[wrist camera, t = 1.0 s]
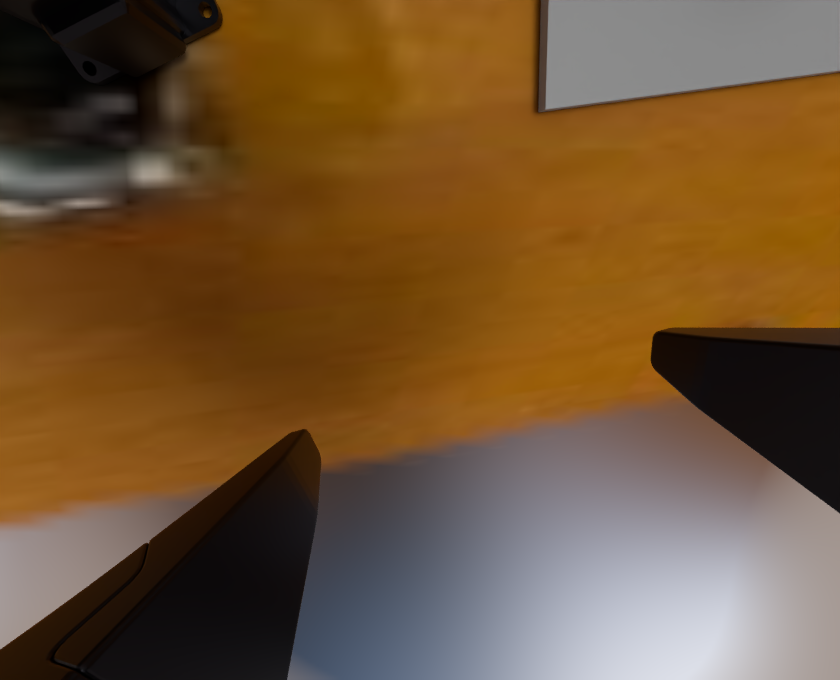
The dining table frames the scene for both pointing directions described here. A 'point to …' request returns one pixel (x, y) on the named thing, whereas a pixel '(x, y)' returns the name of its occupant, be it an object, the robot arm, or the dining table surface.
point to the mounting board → (678, 46)
